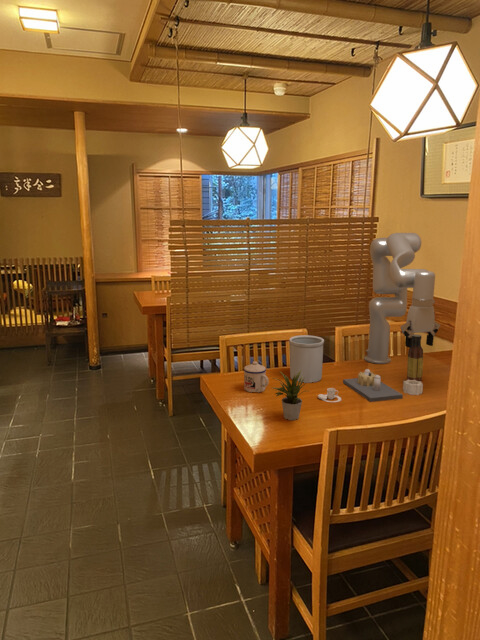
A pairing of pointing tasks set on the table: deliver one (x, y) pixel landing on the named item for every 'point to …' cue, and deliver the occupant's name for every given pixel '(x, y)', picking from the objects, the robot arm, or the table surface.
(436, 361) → the table surface
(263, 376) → the teacup with lid
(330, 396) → the teacup and saucer
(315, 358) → the utensil holder
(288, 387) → the house plant
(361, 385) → the gear board
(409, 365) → the sauce bottle
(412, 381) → the gear
